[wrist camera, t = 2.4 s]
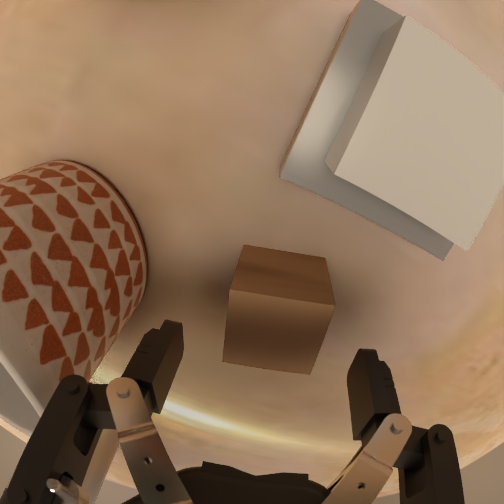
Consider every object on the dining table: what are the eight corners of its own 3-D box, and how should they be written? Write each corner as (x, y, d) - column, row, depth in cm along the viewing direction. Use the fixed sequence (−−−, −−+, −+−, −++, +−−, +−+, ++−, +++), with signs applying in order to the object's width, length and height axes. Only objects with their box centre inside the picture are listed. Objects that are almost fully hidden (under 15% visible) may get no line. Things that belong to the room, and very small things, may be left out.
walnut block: (307, 320, 20) (309, 374, 16) (235, 309, 20) (222, 361, 16) (324, 257, 18) (335, 305, 14) (244, 244, 18) (229, 289, 14)
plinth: (423, 239, 17) (467, 290, 11) (280, 166, 16) (277, 193, 10) (487, 106, 12) (551, 115, 7) (350, 13, 11) (381, -30, 6)
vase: (0, 197, 19) (-106, 263, 7) (103, 125, 16) (-81, 180, 4) (64, 325, 24) (-7, 420, 13) (180, 309, 21) (107, 466, 10)
